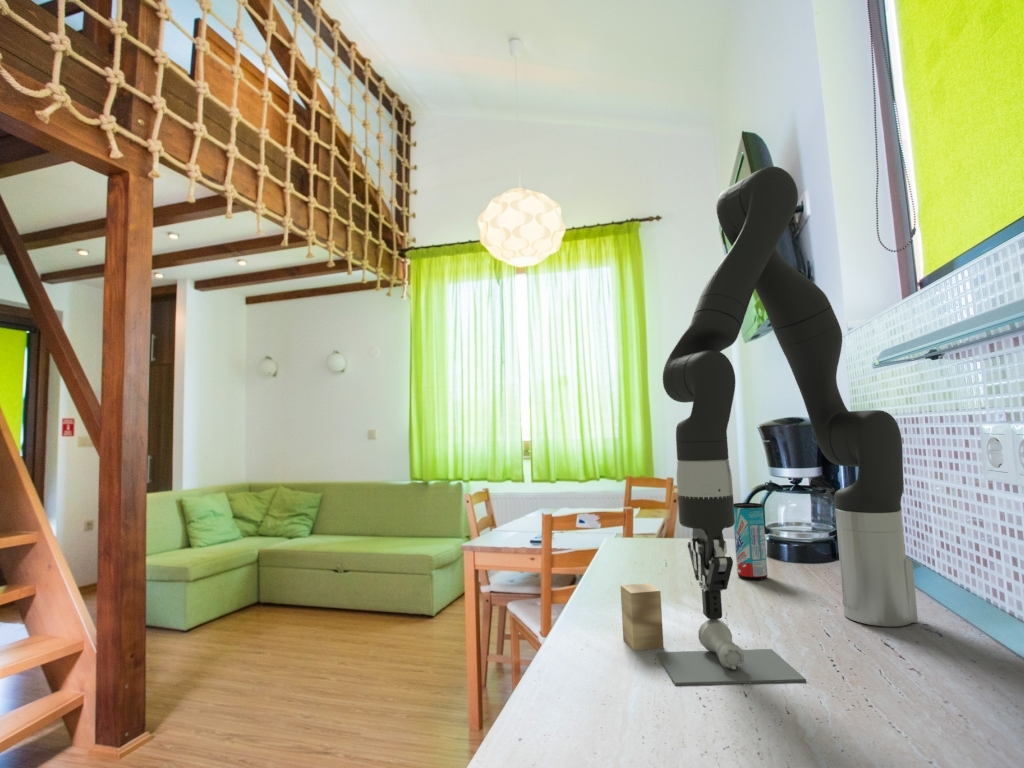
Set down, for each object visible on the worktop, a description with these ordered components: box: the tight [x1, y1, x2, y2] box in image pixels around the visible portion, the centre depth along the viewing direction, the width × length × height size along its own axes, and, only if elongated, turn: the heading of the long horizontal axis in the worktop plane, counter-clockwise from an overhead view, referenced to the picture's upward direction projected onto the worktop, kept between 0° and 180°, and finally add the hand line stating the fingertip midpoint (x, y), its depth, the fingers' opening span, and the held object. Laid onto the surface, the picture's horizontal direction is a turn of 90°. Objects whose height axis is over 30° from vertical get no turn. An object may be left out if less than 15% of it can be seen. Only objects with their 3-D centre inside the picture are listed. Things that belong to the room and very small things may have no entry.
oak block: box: [620, 582, 665, 651], centre depth 86 cm, size 4×4×8 cm
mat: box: [656, 648, 807, 686], centre depth 76 cm, size 16×10×1 cm, turn 89°
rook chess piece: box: [698, 619, 744, 670], centre depth 78 cm, size 4×4×8 cm
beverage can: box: [733, 502, 769, 581], centre depth 122 cm, size 6×6×15 cm
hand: (712, 617), depth 81 cm, fingers closed
